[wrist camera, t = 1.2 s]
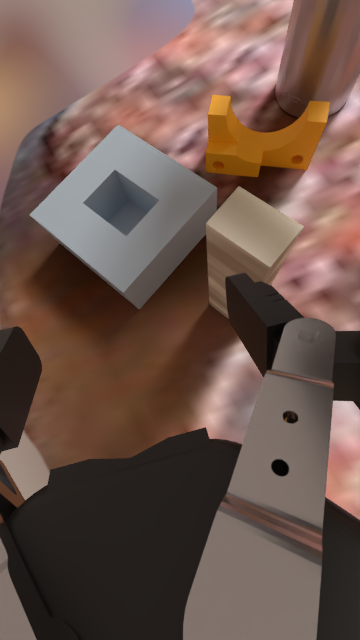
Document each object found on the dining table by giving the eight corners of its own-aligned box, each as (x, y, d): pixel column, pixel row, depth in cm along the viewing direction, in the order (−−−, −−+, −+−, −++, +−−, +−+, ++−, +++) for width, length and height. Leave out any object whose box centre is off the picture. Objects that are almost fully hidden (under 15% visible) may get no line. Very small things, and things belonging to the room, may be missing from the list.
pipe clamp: (206, 173, 36) (204, 127, 29) (212, 144, 37) (212, 95, 30) (304, 183, 34) (325, 137, 28) (308, 153, 35) (329, 101, 28)
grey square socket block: (132, 165, 37) (118, 124, 31) (216, 221, 34) (217, 187, 28) (59, 243, 35) (29, 215, 30) (139, 309, 32) (123, 292, 26)
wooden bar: (226, 284, 32) (238, 186, 16) (258, 307, 31) (303, 226, 15) (209, 304, 31) (205, 223, 16) (241, 328, 30) (270, 267, 15)
